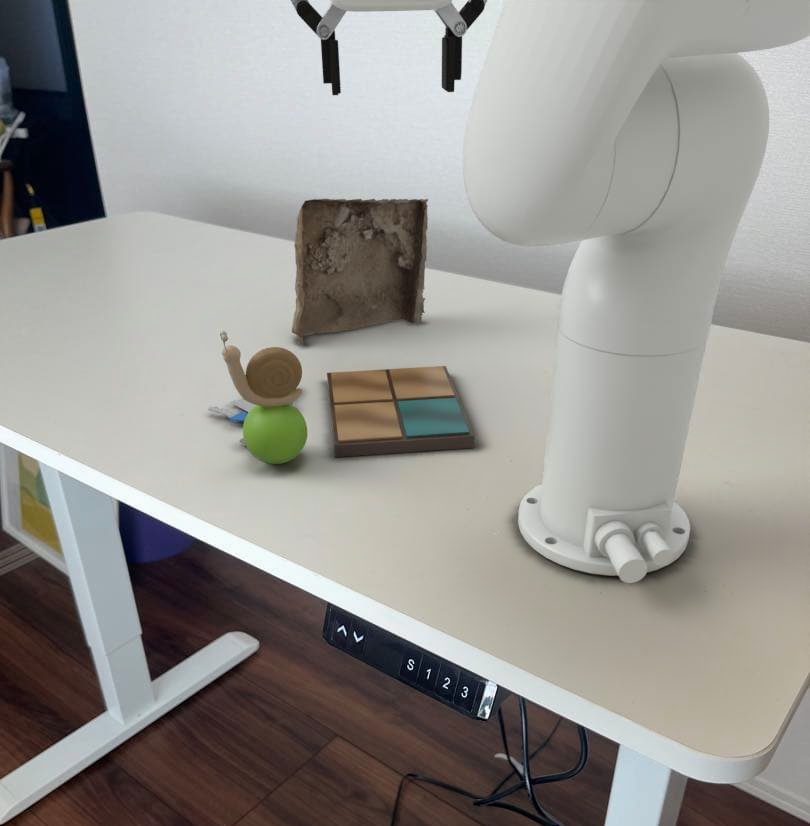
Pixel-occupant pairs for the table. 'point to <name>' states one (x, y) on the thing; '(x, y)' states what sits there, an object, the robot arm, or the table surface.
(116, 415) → the table surface
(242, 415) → the key chain
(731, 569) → the table surface
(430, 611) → the table surface
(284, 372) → the snail figurine
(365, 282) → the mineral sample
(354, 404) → the game board
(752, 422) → the table surface
